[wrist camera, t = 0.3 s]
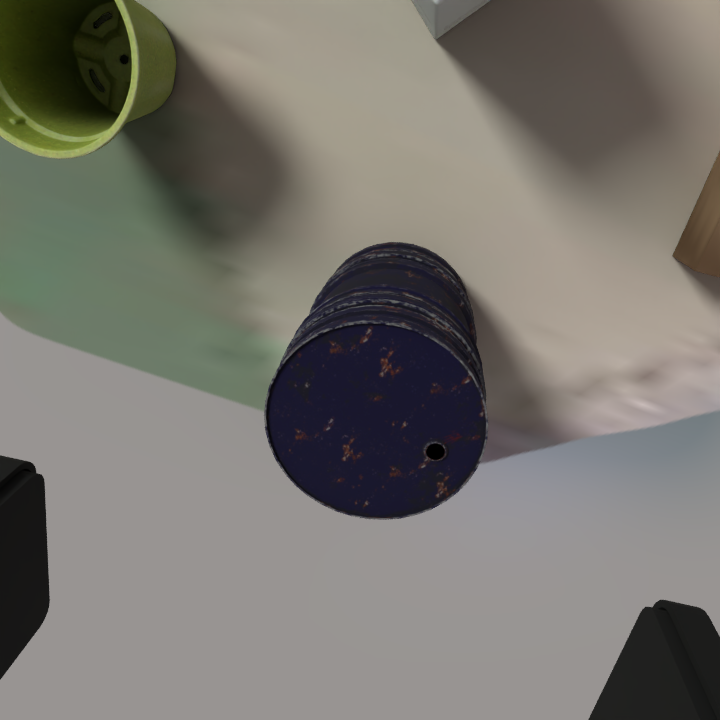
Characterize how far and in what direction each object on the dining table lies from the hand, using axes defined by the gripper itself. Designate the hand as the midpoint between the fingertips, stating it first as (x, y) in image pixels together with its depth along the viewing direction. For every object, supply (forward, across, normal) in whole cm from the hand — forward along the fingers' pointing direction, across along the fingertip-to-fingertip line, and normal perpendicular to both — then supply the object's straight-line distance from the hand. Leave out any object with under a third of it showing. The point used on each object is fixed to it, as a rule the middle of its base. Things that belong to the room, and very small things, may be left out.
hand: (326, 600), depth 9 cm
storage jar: (+31, 0, +6) cm, 31 cm away
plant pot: (+31, +18, -6) cm, 36 cm away
